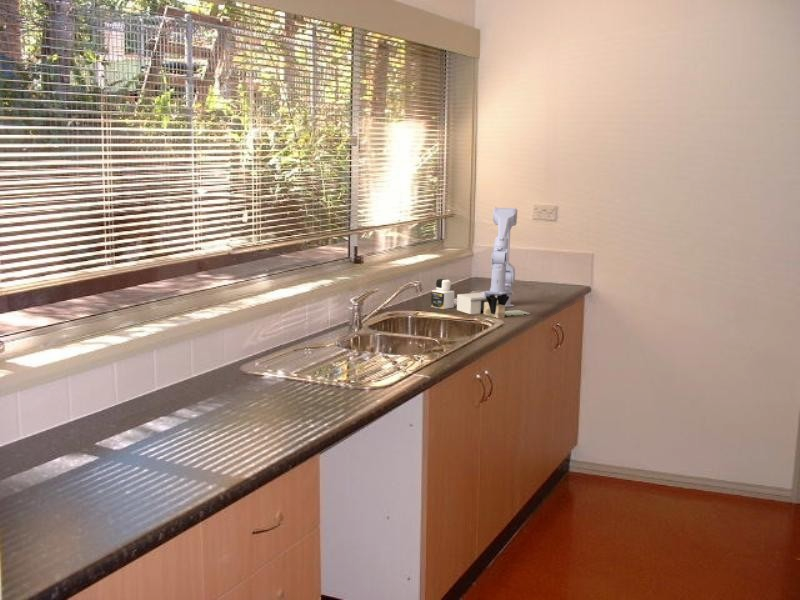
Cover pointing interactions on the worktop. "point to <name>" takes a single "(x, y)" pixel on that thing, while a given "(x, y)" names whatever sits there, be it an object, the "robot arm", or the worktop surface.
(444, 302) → the medicine bottle
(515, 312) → the mat
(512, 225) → the robot arm
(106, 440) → the worktop surface
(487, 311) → the wooden block
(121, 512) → the worktop surface
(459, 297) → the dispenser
